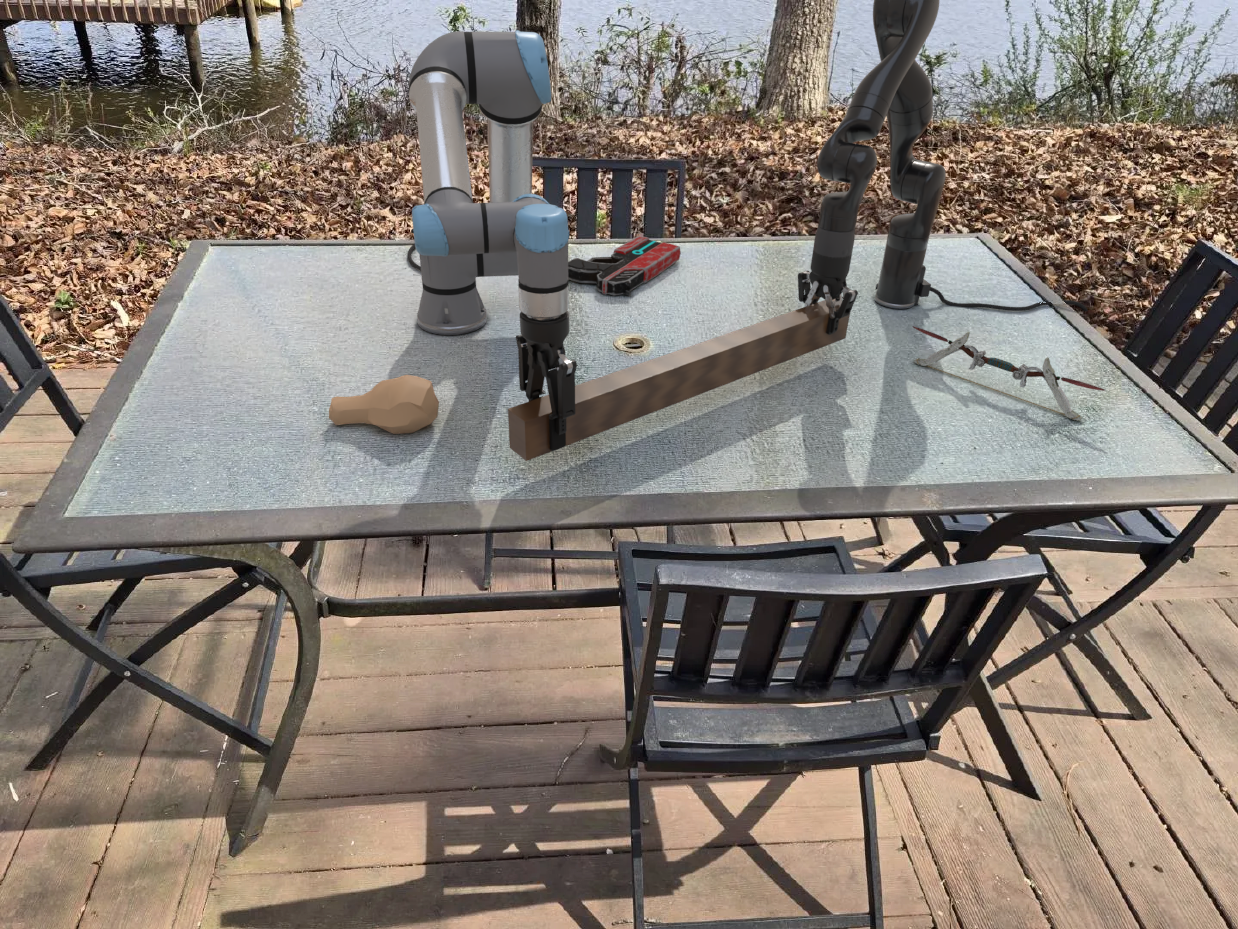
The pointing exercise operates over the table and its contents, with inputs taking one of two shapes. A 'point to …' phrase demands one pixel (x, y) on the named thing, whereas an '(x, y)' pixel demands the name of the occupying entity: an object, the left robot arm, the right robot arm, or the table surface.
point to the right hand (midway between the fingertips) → (819, 328)
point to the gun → (625, 266)
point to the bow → (1018, 373)
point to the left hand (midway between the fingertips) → (547, 440)
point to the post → (674, 378)
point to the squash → (390, 405)
